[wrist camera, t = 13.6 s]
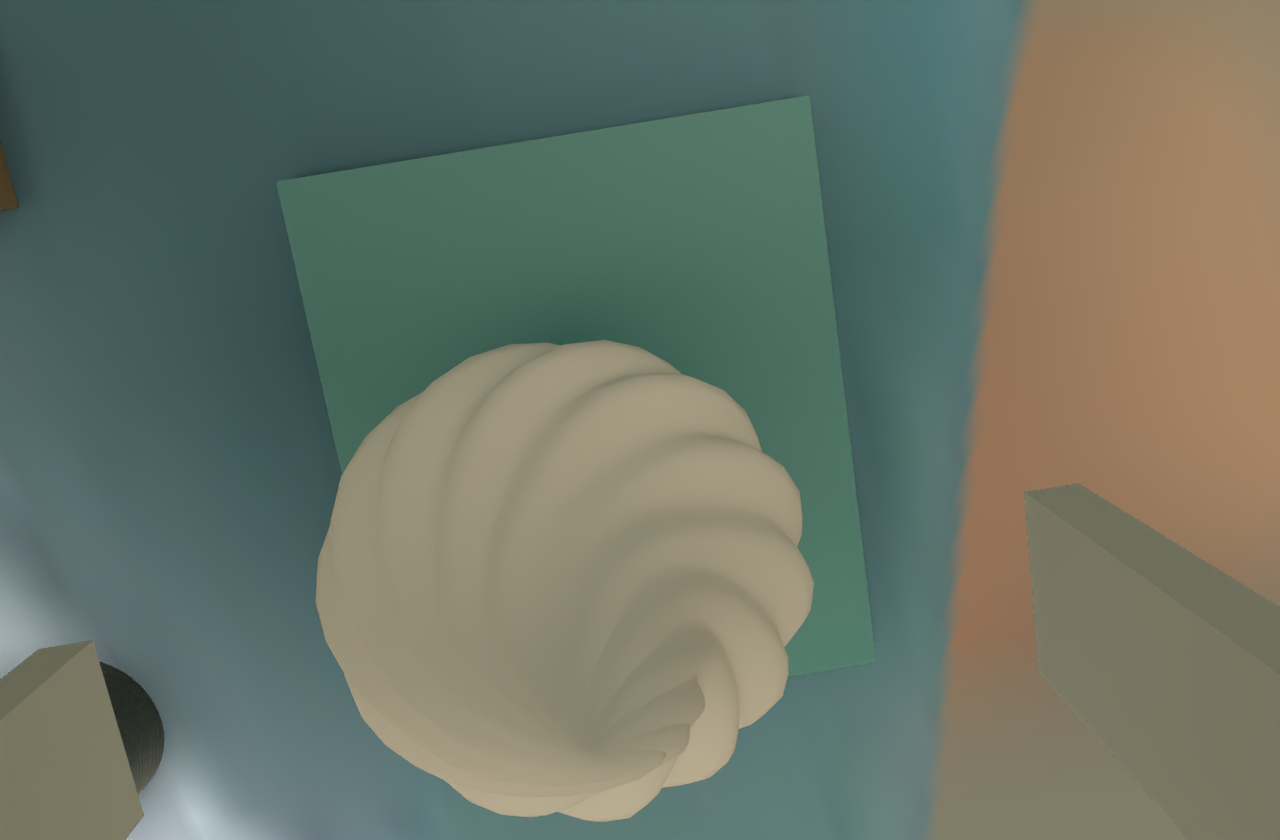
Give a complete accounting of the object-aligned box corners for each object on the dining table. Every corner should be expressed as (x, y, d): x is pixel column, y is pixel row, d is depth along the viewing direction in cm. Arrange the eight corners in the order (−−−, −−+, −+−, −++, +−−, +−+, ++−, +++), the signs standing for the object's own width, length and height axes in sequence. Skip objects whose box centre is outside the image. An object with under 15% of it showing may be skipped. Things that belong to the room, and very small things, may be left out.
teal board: (293, 182, 28) (275, 181, 27) (799, 100, 28) (809, 95, 27) (411, 713, 32) (401, 738, 30) (864, 641, 32) (876, 663, 30)
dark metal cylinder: (-24, 671, 31) (-172, 781, 25) (140, 645, 31) (31, 749, 25) (22, 819, 32) (-110, 957, 26) (181, 794, 32) (85, 927, 26)
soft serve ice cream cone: (411, 551, 29) (176, 961, 13) (460, 256, 27) (257, 329, 12) (702, 604, 30) (804, 1057, 14) (768, 318, 28) (966, 466, 12)
